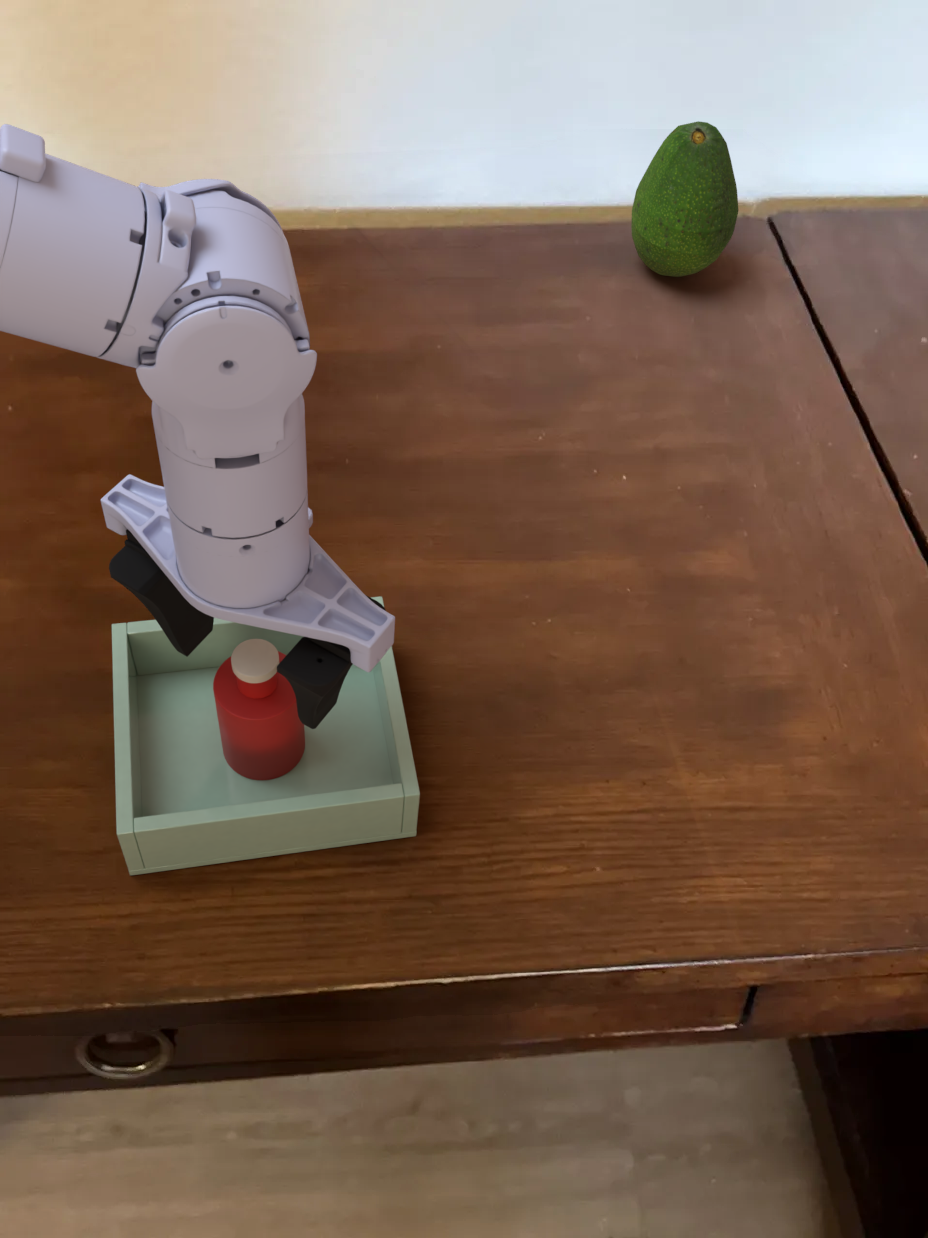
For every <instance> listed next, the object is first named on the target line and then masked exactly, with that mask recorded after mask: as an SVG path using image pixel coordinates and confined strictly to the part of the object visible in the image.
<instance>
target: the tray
mask: <svg viewBox="0 0 928 1238" xmlns="http://www.w3.org/2000/svg"><path fill="white" fill-rule="evenodd" d="M369 597H370V598H372V599H374V600H376V601H378V602H379V603H380V604H382V605H383V607H384V608H385V609H386V607H385V603H384V598H383V596H382V595H380V596H369ZM302 637H304V636H299V635H294V634H289V633H284V632H279V631H274V630H269V629H265V628H260V627H255V626H250V625H245V624H240V623H235V622H230V621H226V620H221V619H218V618H214V623H213V630H212V631H211V633H210V634H209V635H208V636H207V637H206V638H205V639H204V640H203V641H202V642H201V643H200V644H199V645H198V646H197V647H196V648H195V649H194V650H193V651H192V653H191V654H190V655H189V656H188V657H186V656H185V655H183V654H181V653H180V652H178V651H177V650H176V649H175V648H174V646H173V645H172V644H171V642H170V641H169V639H168V638H167V636H166V635H165V633H164V631H163V630H162V628H161V627H160V625H159V624H158V622H157V621H156V619H148V620H147V619H146V620H137V621H128V622H120V623H119V622H117V623H111V657H112V658H111V660H112V661H111V662H112V663H111V664H112V666H111V667H112V703H113V704H112V705H113V706H112V708H113V743H114V744H113V745H114V748H113V749H114V788H115V793H114V794H115V829H116V832H115V833H116V834H115V835H116V837H117V840H118V843H119V846H120V849H121V852H122V855H123V859H124V861H125V865H126V867H127V870H128V874H129V876H137V875H144V874H153V873H158V872H159V873H160V872H166V871H174V870H181V869H188V868H195V867H196V868H197V867H204V866H209V865H217V864H224V863H225V864H226V863H232V862H238V861H239V862H240V861H246V860H255V859H260V858H267V857H268V858H269V857H273V856H275V857H276V856H283V855H290V854H296V853H305V852H311V851H319V850H326V849H333V848H340V847H347V846H355V845H361V844H367V843H376V842H383V841H390V840H391V841H392V840H397V839H404V838H405V839H406V838H412V837H417V832H418V831H417V829H418V821H419V811H420V810H419V809H420V799H421V790H420V785H419V780H418V777H417V769H416V765H415V760H414V754H413V748H412V744H411V738H410V734H409V728H408V723H407V717H406V711H405V707H404V702H403V697H402V692H401V691H402V690H401V686H400V681H399V676H398V671H397V665H396V660H395V655H394V650H393V645H392V646H391V647H390V648H389V650H388V651H387V652H386V654H385V655H384V656H383V657H382V658H381V660H380V661H379V662H378V663H377V664H376V665H375V667H374V668H373V669H372V670H371V671H370V672H366V671H364V670H363V669H361V668H359V667H357V666H355V665H354V664H352V666H351V668H350V669H349V671H348V673H347V675H346V677H345V679H344V682H343V684H342V687H341V690H340V693H339V696H338V699H337V703H336V704H335V706H334V707H333V708H332V709H331V710H330V712H329V713H328V714H327V715H326V716H325V718H324V719H323V720H322V721H321V723H320V724H319V725H318V726H317V727H316V729H311V728H309V727H307V726H306V725H304V730H305V750H304V753H303V756H302V758H301V760H300V761H299V763H298V764H297V765H296V766H295V767H294V768H293V769H292V770H291V771H290V772H288V773H287V774H285V775H283V776H281V777H278V778H275V779H271V780H253V779H249V778H246V777H244V776H241V775H240V774H238V773H237V772H235V771H234V770H233V769H232V768H231V767H230V766H229V765H228V763H227V761H226V759H225V757H224V754H223V748H222V741H221V735H220V729H219V722H218V716H217V710H216V703H215V697H214V691H213V682H214V677H215V674H216V672H217V670H218V669H219V667H220V666H221V665H222V663H223V662H224V661H225V660H227V659H228V658H229V657H231V655H232V653H233V651H234V649H235V648H236V647H237V646H238V645H239V644H240V643H242V642H244V641H246V640H249V639H263V640H266V641H268V642H270V643H271V644H273V645H274V646H275V648H276V649H277V651H279V652H281V653H283V654H285V655H287V654H288V653H289V652H290V651H291V650H292V649H293V647H294V646H295V645H296V644H297V643H298V642H299V641H300V639H301V638H302Z"/></svg>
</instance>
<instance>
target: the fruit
mask: <svg viewBox="0 0 928 1238" xmlns="http://www.w3.org/2000/svg"><path fill="white" fill-rule="evenodd" d="M739 211H740V210H739V198H738V188H737V182H736V177H735V173H734V169H733V163H732V159H731V155H730V151H729V147H728V143H727V141H726V140H725V138H724V137H723V135H722V133H721V132H720V131H719V129H718V128H717V127H716V126H714V125H713V124H711V123H709V122H706V121H699V120H698V121H694V122H687V123H686V124H685V123H684V124H680V125H678V126H676V127H675V128H674V129H673V130H672V131H671V132H670V133H669V134H668V135H667V136H666V138H664V140H663V141H662V142H661V144H660V146H659V148H658V149H657V150H656V153H655V154H654V155H653V158H652V159H651V161H650V163H649V165H648V166H647V168H646V170H645V172H644V173H643V176H642V178H641V179H640V182H639V183H638V185H637V188H636V190H635V194H634V199H633V203H632V208H631V225H630V226H631V238H632V241H633V244H634V248H635V250H636V253H637V255H638V257H639V258H640V260H641V261H642V263H643V264H644V265H645V266H646V267H647V268H648V269H650V270H651V271H652V272H654V273H656V274H658V275H660V276H667V277H675V278H680V277H686V276H690V275H694V274H697V273H699V272H701V271H703V270H705V269H706V268H708V267H709V266H710V265H712V264H713V263H715V262H716V261H717V260H718V258H719V257H720V256H721V254H722V253H723V251H724V250H725V249H726V248H727V245H728V244H729V242H730V241H731V239H732V237H733V235H734V232H735V228H736V224H737V219H738V216H739V215H738V214H739Z"/></svg>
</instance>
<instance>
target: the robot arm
mask: <svg viewBox="0 0 928 1238" xmlns="http://www.w3.org/2000/svg"><path fill="white" fill-rule="evenodd" d="M0 332H3V333H7V334H10V335H14V336H17V337H21V338H25V339H29V340H32V341H35V342H38V343H39V342H40V343H42V344H46V345H49V346H54V347H57V348H60V349H63V350H64V349H65V350H68V351H71V352H75V353H78V354H83V355H86V356H90V357H93V358H97V359H100V360H103V361H107V362H111V363H115V364H119V365H122V366H125V367H130V368H134V369H135V373H136V376H137V379H138V381H139V384H140V386H141V388H142V389H143V391H144V392H145V394H146V395H147V396H148V397H149V399H150V400H151V401H152V402H151V418H152V423H153V430H154V434H155V441H156V447H157V448H156V449H157V453H158V458H159V465H160V471H161V476H162V483H163V486H162V485H158V484H155V483H151V482H148V481H147V480H143V479H141V478H139V477H137V476H135V475H133V474H130V473H129V474H127V475H126V476H124V477H123V478H122V479H121V480H120V481H119V482H118V483H117V484H116V485H114V487H112V488H111V489H110V490H109V491H108V492H107V493H106V494H105V495H103V497H102V496H101V498H100V504H101V509H102V512H103V513H102V514H103V516H104V521H105V526H106V528H107V529H108V530H110V531H112V532H113V533H116V534H117V535H120V536H126V539H125V540H124V546H123V547H122V548H121V549H120V550H119V551H118V552H117V553H116V554H114V555H113V557H112V558H111V559H110V561H109V564H108V570H109V575H110V578H111V579H112V580H114V581H116V582H117V583H119V584H120V585H122V586H123V587H124V588H125V589H127V591H129V592H130V593H131V594H132V595H134V596H135V598H137V599H138V600H139V601H140V603H141V604H143V606H144V607H145V608H146V609H147V610H148V611H149V613H150V614H151V615H152V617H153V618H154V620H156V621H157V622H158V624H159V625H160V627H161V628H162V630H163V631H164V633H165V635H166V636H167V638H168V639H169V641H170V642H171V644H172V645H173V646H174V648H175V649H176V650H177V651H178V652H180V653H181V654H183V655H185V656H186V657H188V656H189V655H190V654H191V653H192V651H193V650H194V649H195V648H196V647H197V646H198V645H199V644H200V643H201V642H202V641H203V640H204V639H205V638H206V637H207V636H208V635H209V634H210V633H211V631H212V630H213V623H214V618H218V619H221V620H226V621H230V622H235V623H240V624H245V625H250V626H255V627H260V628H265V629H269V630H274V631H279V632H284V633H289V634H294V635H299V636H304V637H302V638H301V639H300V641H299V642H298V643H297V644H296V645H295V646H294V647H293V649H292V650H291V651H290V652H289V653H288V654H287V655H286V656H285V658H284V659H283V660H282V661H281V662H280V663H279V664H278V665H277V672H278V673H280V674H281V675H283V676H284V677H285V678H286V679H287V680H288V681H289V683H290V685H291V686H292V688H293V691H294V693H295V696H296V703H297V712H298V717H299V719H300V721H301V722H302V724H304V725H306V726H307V727H309V728H311V729H316V727H317V726H318V725H319V724H320V723H321V721H322V720H323V719H324V718H325V716H326V715H327V714H328V713H329V712H330V710H331V709H332V708H333V707H334V706H335V704H336V703H337V699H338V696H339V693H340V690H341V687H342V684H343V682H344V679H345V677H346V675H347V673H348V671H349V669H350V668H351V666H352V664H354V665H355V666H357V667H359V668H361V669H363V670H364V671H366V672H370V671H371V670H372V669H373V668H374V667H375V665H376V664H377V663H378V662H379V661H380V660H381V658H382V657H383V656H384V655H385V654H386V652H387V651H388V650H389V648H390V647H391V646H392V647H393V645H394V643H395V630H396V629H395V627H396V625H395V624H396V616H395V615H394V614H391V612H390V613H389V612H388V611H387V610H386V607H385V606H384V607H385V608H384V607H383V605H382V604H380V603H379V602H378V601H376V600H374V599H372V598H370V597H371V596H368V595H367V594H365V593H364V592H363V591H362V590H361V589H360V587H358V586H357V585H356V584H355V583H354V581H353V580H352V579H351V578H350V577H349V576H348V575H347V574H346V573H345V571H343V569H341V567H340V566H339V565H338V564H337V563H336V562H335V561H334V559H333V558H331V556H329V554H328V553H327V552H326V551H325V550H324V549H323V548H322V546H320V544H319V543H318V542H317V541H316V540H315V539H314V538H313V537H312V536H311V535H310V528H311V527H312V526H313V524H314V514H313V509H311V508H310V507H309V494H308V493H309V491H308V462H307V439H306V436H307V434H306V407H305V404H306V403H305V399H304V395H303V393H304V391H305V390H306V388H307V387H308V386H309V385H310V382H311V381H312V378H313V376H314V373H315V370H316V367H317V359H318V353H317V352H316V350H314V349H310V348H311V338H310V337H311V336H310V331H309V326H308V323H307V318H306V313H305V309H304V306H303V300H302V297H301V291H300V289H299V284H298V280H297V275H296V272H295V267H294V262H293V257H292V253H291V249H290V245H289V243H288V240H287V238H286V236H285V234H284V231H283V229H282V226H281V223H280V222H279V220H278V219H277V217H276V215H275V214H274V213H273V212H272V211H271V210H270V208H268V206H267V205H266V204H264V203H263V202H262V201H260V200H259V199H258V198H256V197H255V196H253V195H251V194H249V193H247V192H246V191H244V190H241V189H240V188H239V187H237V185H235V184H234V183H233V182H231V181H229V180H225V179H219V178H198V179H190V180H185V181H181V182H178V183H174V184H171V185H169V186H154V185H151V184H148V183H145V182H140V183H139V184H138V186H136V185H134V184H132V183H129V182H127V181H126V182H125V181H123V180H121V179H118V178H115V177H112V176H109V175H106V174H104V173H101V172H99V171H98V172H97V171H95V170H93V169H90V168H88V167H84V166H82V165H79V164H76V163H73V162H72V161H68V160H65V159H62V158H60V157H56V156H54V155H51V154H48V153H46V142H45V139H44V138H43V136H41V135H39V134H36V133H33V132H31V131H29V130H25V129H23V128H19V127H17V126H15V125H12V124H8V123H4V124H2V125H1V126H0Z"/></svg>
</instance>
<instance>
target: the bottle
mask: <svg viewBox="0 0 928 1238" xmlns="http://www.w3.org/2000/svg"><path fill="white" fill-rule="evenodd" d="M285 656H286V655H285V654H283V653H281V652H279V651H277V649H276V648H275V646H274V645H273V644H271V643H270V642H268V641H266V640H263V639H249V640H246V641H244V642H242V643H240V644H239V645H238V646H237V647H236V648H235V649H234V651H233V653H232V655H231V657H229V658H228V659H227V660H225V661H224V662H223V663H222V665H221V666H220V667H219V669H218V670H217V672H216V674H215V677H214V682H213V691H214V697H215V703H216V710H217V716H218V722H219V729H220V735H221V741H222V748H223V754H224V757H225V759H226V761H227V763H228V765H229V766H230V767H231V768H232V769H233V770H234V771H235V772H237V773H238V774H240V775H241V776H244V777H246V778H249V779H253V780H271V779H275V778H278V777H281V776H283V775H285V774H287V773H288V772H290V771H291V770H292V769H293V768H294V767H295V766H296V765H297V764H298V763H299V761H300V760H301V758H302V756H303V753H304V750H305V730H304V724H302V722H301V721H300V719H299V717H298V712H297V703H296V696H295V693H294V691H293V688H292V686H291V685H290V683H289V681H288V680H287V679H286V678H285V677H284V676H283V675H281V674H280V673H278V672H277V665H278V664H279V663H280V662H281V661H282V660H283V659H284V658H285Z"/></svg>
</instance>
